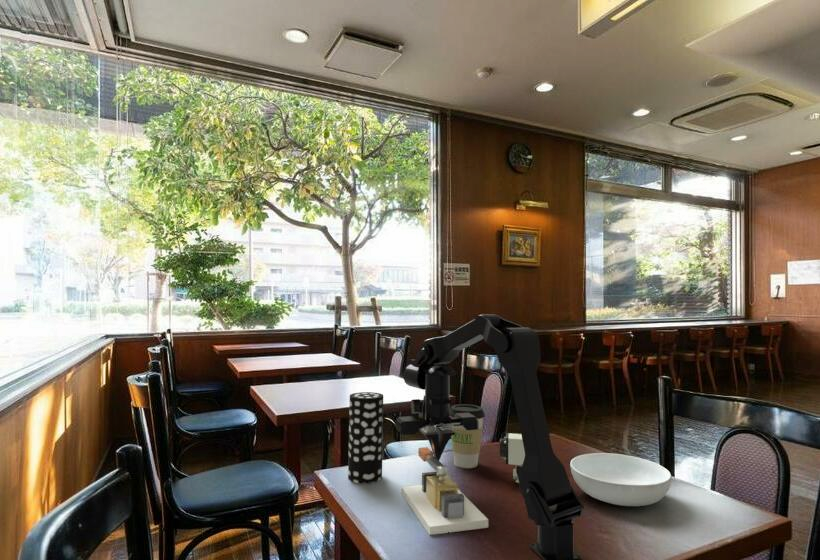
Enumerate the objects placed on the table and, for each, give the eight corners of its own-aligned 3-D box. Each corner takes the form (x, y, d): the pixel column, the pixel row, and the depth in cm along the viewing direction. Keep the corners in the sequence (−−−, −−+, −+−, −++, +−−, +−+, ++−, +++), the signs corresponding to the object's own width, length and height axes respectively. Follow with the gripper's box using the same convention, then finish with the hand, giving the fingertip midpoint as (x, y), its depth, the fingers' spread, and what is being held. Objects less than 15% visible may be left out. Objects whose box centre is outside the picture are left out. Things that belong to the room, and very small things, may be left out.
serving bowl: (569, 476, 123) (569, 448, 124) (661, 487, 117) (661, 458, 117) (570, 510, 103) (570, 477, 104) (681, 525, 97) (681, 490, 97)
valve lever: (448, 481, 102) (448, 467, 102) (438, 482, 102) (438, 468, 102) (427, 459, 116) (427, 447, 116) (418, 459, 115) (418, 447, 116)
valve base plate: (488, 527, 95) (488, 519, 95) (429, 535, 91) (429, 526, 91) (451, 488, 114) (451, 482, 114) (401, 493, 111) (401, 486, 111)
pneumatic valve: (549, 487, 115) (550, 436, 116) (499, 483, 118) (499, 433, 118) (548, 479, 121) (548, 430, 121) (500, 475, 123) (500, 427, 124)
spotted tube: (341, 479, 119) (342, 396, 119) (360, 469, 126) (361, 391, 127) (370, 486, 115) (371, 400, 116) (388, 475, 122) (389, 394, 123)
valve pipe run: (467, 517, 96) (467, 494, 96) (444, 519, 94) (444, 497, 95) (439, 486, 111) (439, 467, 111) (419, 488, 110) (419, 469, 110)
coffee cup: (442, 459, 134) (442, 404, 135) (474, 457, 137) (475, 403, 138) (456, 472, 125) (456, 412, 125) (490, 468, 128) (491, 410, 128)
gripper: (461, 385, 125) (461, 447, 124) (390, 388, 119) (389, 453, 119) (479, 393, 114) (479, 461, 113) (402, 397, 109) (401, 468, 108)
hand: (437, 460), depth 114 cm, fingers closed
